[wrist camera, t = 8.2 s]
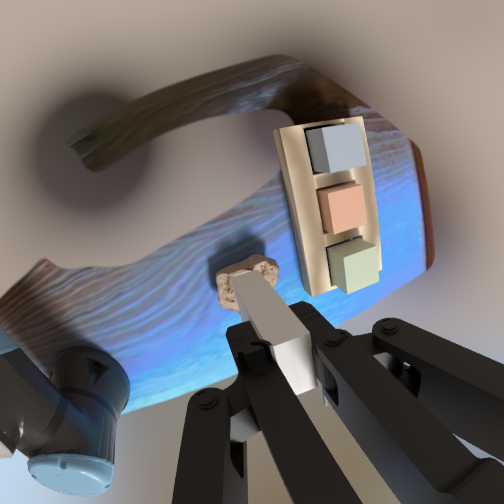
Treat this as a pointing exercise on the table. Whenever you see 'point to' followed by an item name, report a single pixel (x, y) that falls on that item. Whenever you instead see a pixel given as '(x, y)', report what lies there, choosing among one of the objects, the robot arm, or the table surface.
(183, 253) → the table surface
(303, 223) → the socket board
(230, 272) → the stone
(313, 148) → the slate block
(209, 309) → the table surface
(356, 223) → the terracotta block
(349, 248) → the sage block
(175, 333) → the table surface
